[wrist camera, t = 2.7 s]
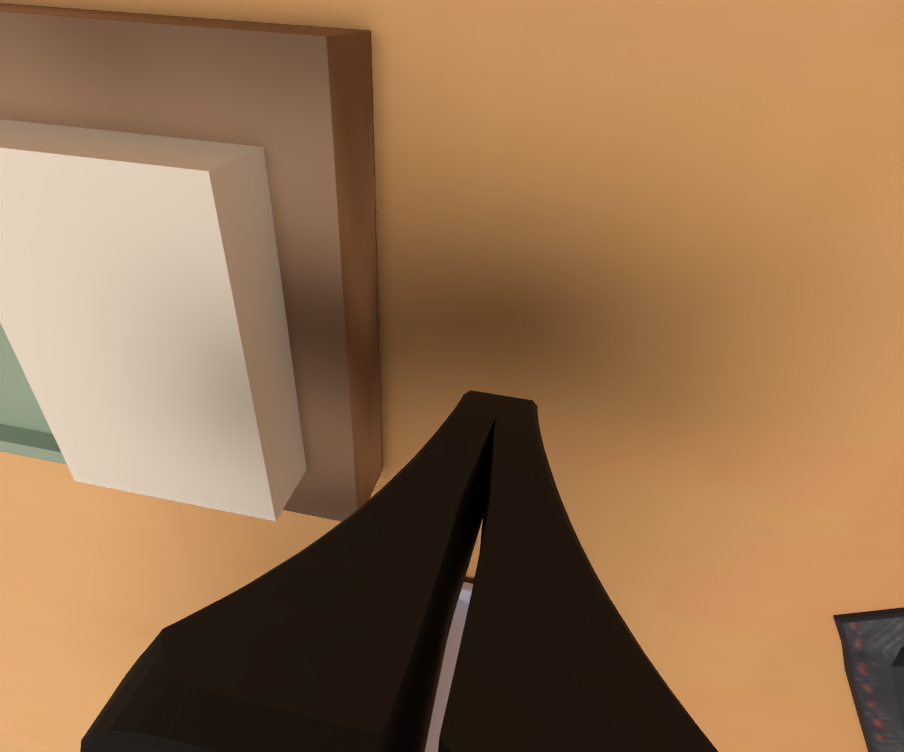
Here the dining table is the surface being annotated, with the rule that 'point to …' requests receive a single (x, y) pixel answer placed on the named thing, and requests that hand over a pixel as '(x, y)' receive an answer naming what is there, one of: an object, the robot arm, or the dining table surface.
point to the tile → (151, 312)
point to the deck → (288, 170)
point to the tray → (22, 412)
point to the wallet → (876, 674)
